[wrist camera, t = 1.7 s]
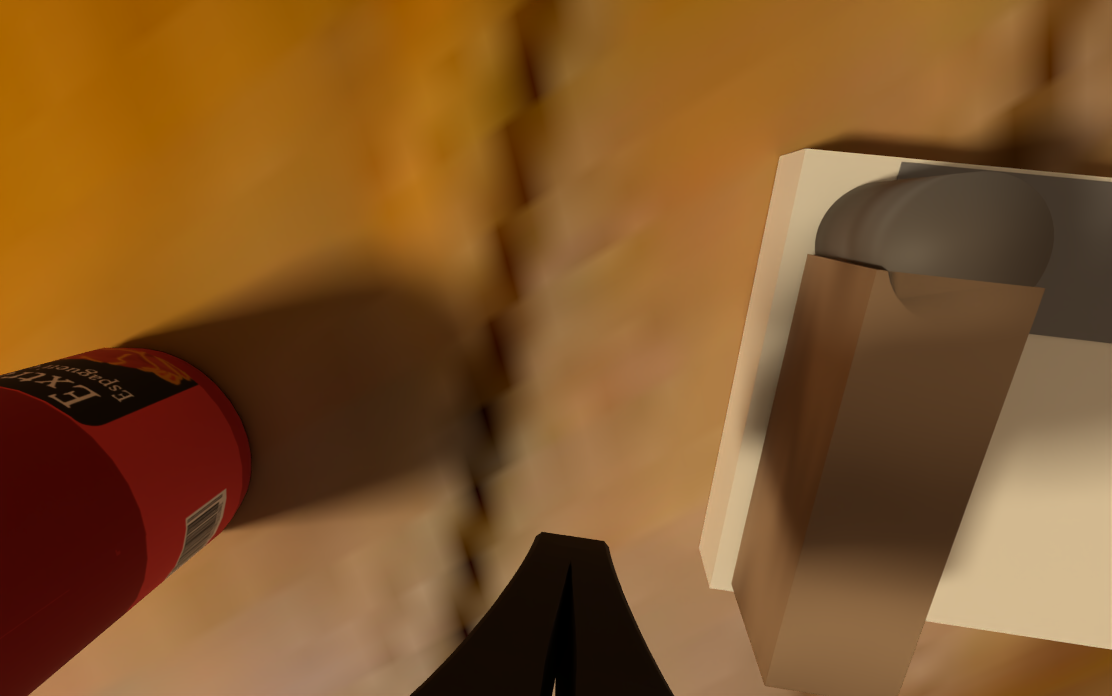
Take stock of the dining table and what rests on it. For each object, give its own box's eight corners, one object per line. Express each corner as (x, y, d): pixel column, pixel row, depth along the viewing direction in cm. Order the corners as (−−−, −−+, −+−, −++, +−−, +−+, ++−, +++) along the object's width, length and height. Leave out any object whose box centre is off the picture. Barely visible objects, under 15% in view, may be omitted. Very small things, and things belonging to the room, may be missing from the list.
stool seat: (1081, 604, 17) (1142, 655, 15) (699, 547, 18) (710, 589, 16) (1264, 203, 14) (1373, 202, 12) (779, 156, 15) (806, 148, 13)
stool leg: (825, 175, 13) (905, 162, 9) (954, 187, 12) (1083, 180, 9) (731, 583, 16) (764, 685, 12) (832, 599, 16) (894, 707, 12)
